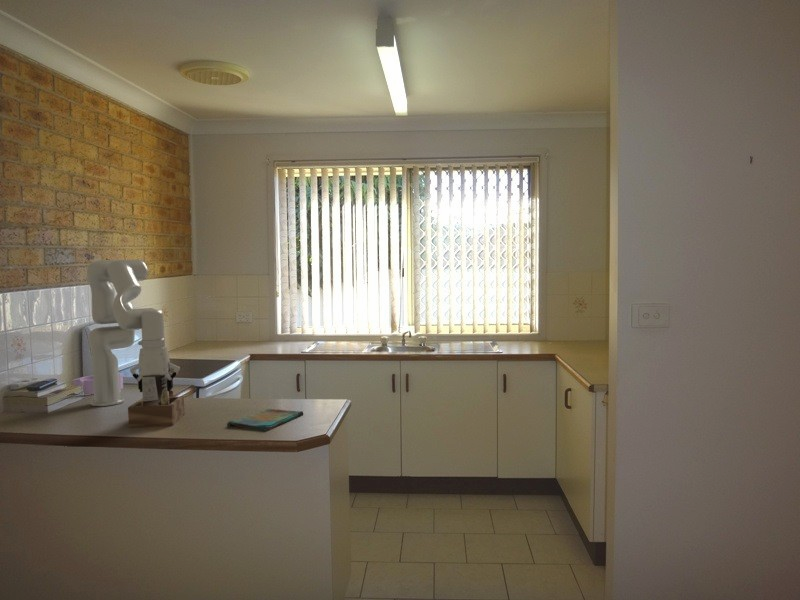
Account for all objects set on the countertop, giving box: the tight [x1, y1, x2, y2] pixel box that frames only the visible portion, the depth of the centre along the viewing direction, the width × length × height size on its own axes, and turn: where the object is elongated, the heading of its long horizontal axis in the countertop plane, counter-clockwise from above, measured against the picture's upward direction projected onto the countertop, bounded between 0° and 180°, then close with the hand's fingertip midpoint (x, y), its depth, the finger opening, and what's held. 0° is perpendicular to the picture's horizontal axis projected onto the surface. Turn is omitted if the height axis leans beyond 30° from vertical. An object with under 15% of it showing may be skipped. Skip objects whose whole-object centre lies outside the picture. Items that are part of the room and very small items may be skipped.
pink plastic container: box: [72, 373, 124, 394], centre depth 281 cm, size 20×12×7 cm, turn 142°
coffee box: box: [142, 375, 169, 406], centre depth 223 cm, size 9×6×16 cm
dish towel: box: [226, 408, 304, 432], centre depth 219 cm, size 17×23×2 cm
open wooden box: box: [127, 396, 186, 428], centre depth 223 cm, size 15×15×7 cm
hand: (156, 390), depth 223 cm, fingers open, 9 cm apart
